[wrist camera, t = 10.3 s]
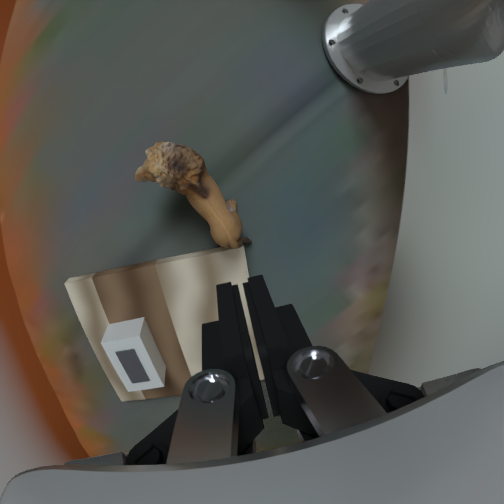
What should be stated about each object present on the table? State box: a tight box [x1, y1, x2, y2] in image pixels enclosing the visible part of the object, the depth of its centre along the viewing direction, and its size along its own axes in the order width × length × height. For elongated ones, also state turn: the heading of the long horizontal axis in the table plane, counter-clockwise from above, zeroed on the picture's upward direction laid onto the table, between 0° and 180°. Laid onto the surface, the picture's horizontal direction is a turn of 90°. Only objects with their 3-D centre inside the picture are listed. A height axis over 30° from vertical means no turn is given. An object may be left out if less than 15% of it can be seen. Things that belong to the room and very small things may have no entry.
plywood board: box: [65, 243, 265, 401], centre depth 36 cm, size 22×20×2 cm
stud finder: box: [101, 317, 166, 392], centre depth 33 cm, size 5×8×4 cm, turn 11°
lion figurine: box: [135, 142, 252, 249], centre depth 28 cm, size 15×5×9 cm, turn 43°
